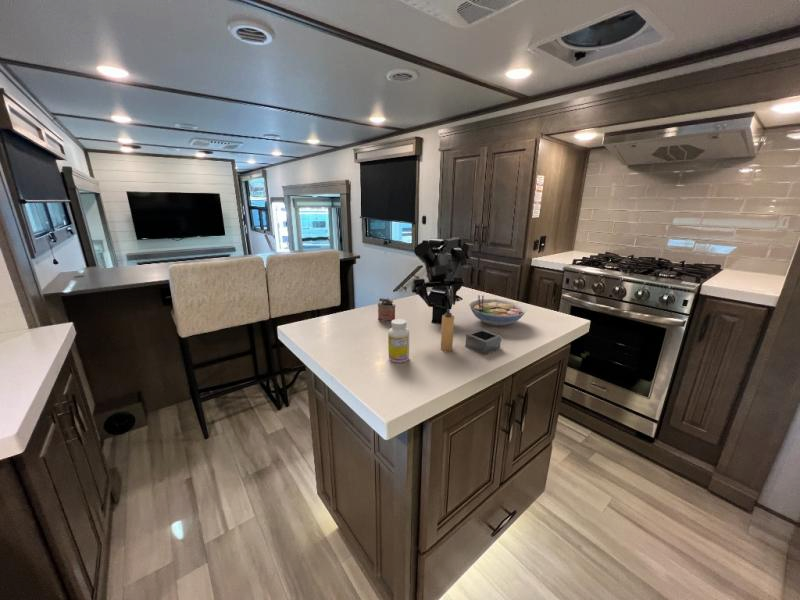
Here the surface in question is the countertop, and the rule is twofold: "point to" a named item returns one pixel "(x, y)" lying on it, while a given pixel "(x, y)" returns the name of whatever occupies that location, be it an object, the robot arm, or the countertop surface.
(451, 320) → the plug
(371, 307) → the countertop surface
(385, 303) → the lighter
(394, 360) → the supplement bottle
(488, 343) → the grey square open block
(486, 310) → the ramen bowl
